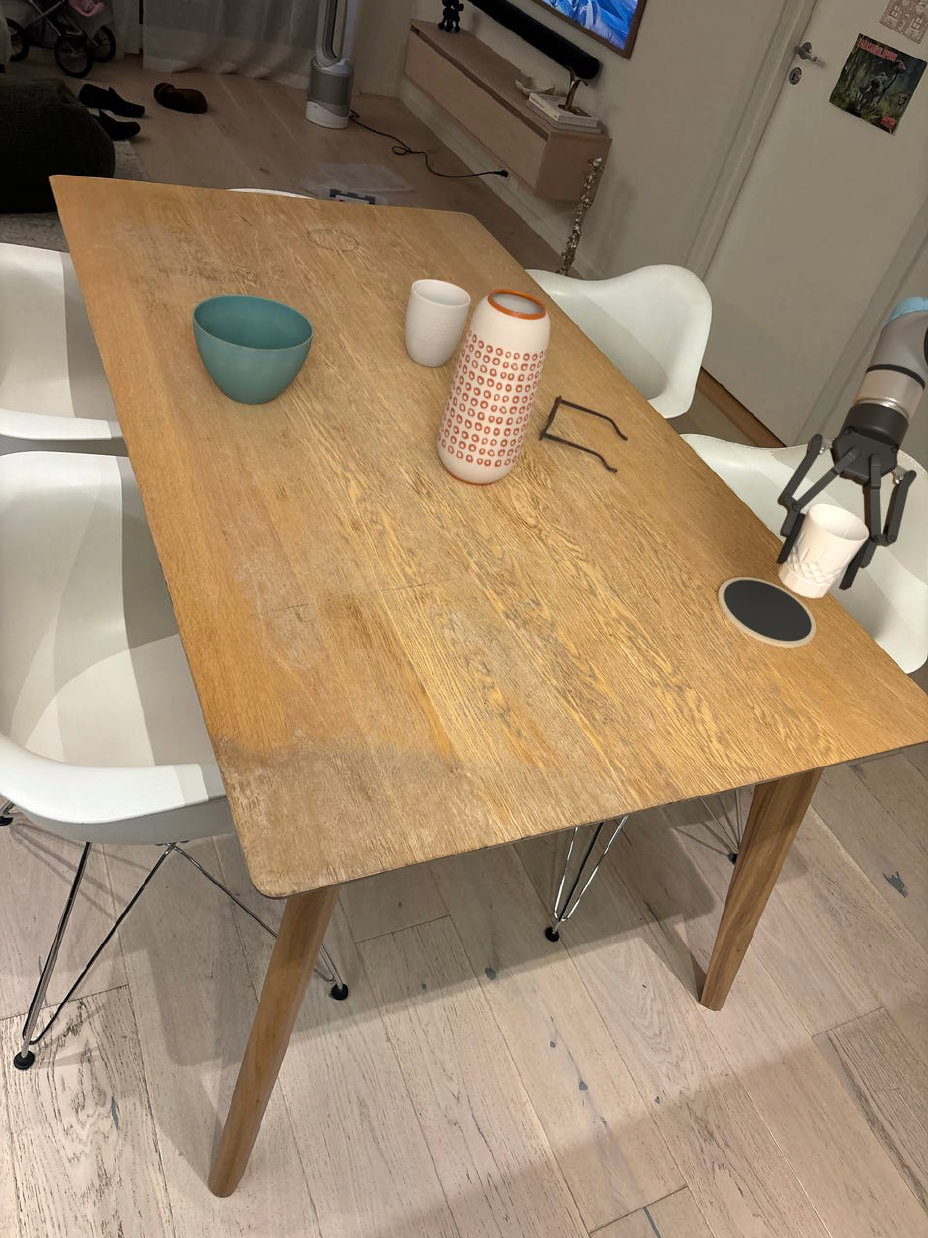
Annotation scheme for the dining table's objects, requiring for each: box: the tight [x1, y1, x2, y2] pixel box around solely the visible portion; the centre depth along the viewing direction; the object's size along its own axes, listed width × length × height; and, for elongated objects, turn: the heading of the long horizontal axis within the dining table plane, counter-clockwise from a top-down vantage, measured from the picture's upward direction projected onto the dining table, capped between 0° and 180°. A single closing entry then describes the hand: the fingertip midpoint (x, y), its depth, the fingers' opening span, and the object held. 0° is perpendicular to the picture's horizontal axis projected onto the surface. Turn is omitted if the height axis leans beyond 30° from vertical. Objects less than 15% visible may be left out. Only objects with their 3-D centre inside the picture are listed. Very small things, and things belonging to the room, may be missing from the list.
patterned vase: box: [436, 288, 552, 486], centre depth 138 cm, size 13×13×28 cm
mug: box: [404, 278, 472, 368], centre depth 170 cm, size 15×11×13 cm
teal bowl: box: [192, 294, 315, 405], centre depth 145 cm, size 18×18×12 cm
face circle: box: [717, 576, 817, 649], centre depth 135 cm, size 15×15×1 cm
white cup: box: [777, 502, 869, 599], centre depth 118 cm, size 8×8×10 cm
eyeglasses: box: [538, 395, 629, 473], centre depth 160 cm, size 15×15×5 cm
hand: (812, 574), depth 116 cm, fingers closed on white cup, 8 cm apart
